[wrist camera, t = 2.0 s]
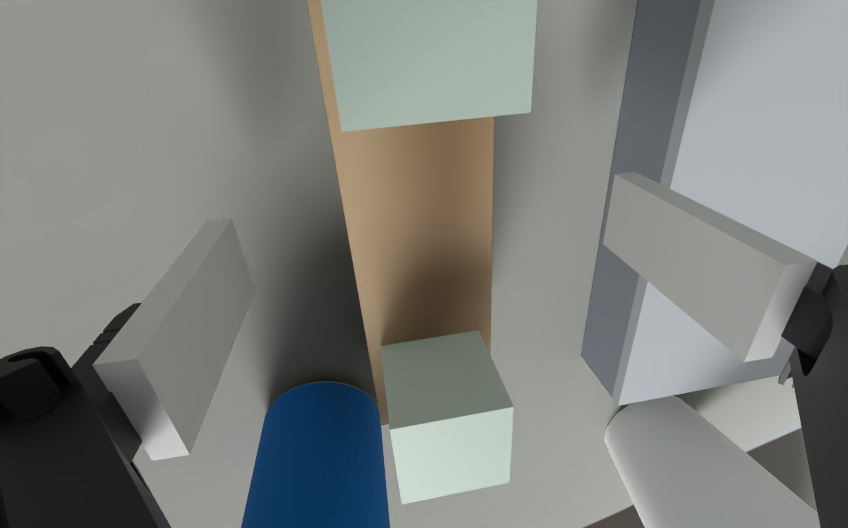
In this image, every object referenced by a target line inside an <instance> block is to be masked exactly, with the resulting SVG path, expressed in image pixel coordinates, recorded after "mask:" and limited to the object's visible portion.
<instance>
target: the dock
mask: <svg viewBox="0 0 848 528" xmlns="http://www.w3.org/2000/svg"><path fill="white" fill-rule="evenodd" d="M630 172H636V173H638V174H640V175H642V176H644V177H647V178H649V179H651V180H653V181H655V182H657V183H659V184H661V185H663V186H665V187H667V188H669V189H671V190H673V191H675V192H677V193H679V194H681V195H684V196H686V197H688V198H690V199H692V200H694V201H696V202H698V203H700V204H702V205H704V206H706V207H708V208H710V209H712V210H714V211H716V212H719V213H721V214H723V215H725V216H727V217H729V218H731V219H733V220H735V221H737V222H739V223H741V224H743V225H745V226H747V227H749V228H751V229H753V230H756V231H758V232H760V233H762V234H764V235H766V236H768V237H770V238H772V239H774V240H776V241H778V242H780V243H782V244H784V245H786V246H788V247H791V248H793V249H795V250H797V251H799V252H801V253H803V254H805V255H807V256H809V257H811V258H813V259H815V260H817V261H818V262H820V263H822V264H824V265H826V266H828V267H830V268H832V269H834V268H835V267H837V265H838V263H839V261H840V259H841V257H842V255H843V253H844V251H845V249H846V247H847V245H848V0H639V1H638V7H637V13H636V19H635V25H634V32H633V38H632V44H631V50H630V56H629V63H628V69H627V75H626V81H625V87H624V94H623V100H622V106H621V112H620V119H619V125H618V131H617V137H616V143H615V150H614V156H613V162H612V168H611V174H610V181H609V187H608V193H607V199H606V205H605V212H604V218H603V224H602V230H601V237H600V243H599V249H598V255H597V261H596V268H595V274H594V280H593V286H592V292H591V299H590V305H589V311H588V317H587V323H586V330H585V336H584V342H583V348H582V354H581V356H582V358H583V359H584V360H585V362H586V363H587V364H588V366H589V367H590V368H591V370H592V371H593V372H594V374H595V375H596V377H597V378H598V379H599V381H600V382H601V383H602V385H603V386H604V387H605V389H606V390H607V391H608V393H609V394H610V395H611V397H612V398H613V400H614V401H615V402H616V404H617V405H618V406H620V405H625V404H630V403H636V402H641V401H646V400H651V399H657V398H662V397H667V396H673V395H678V394H683V393H688V392H694V391H699V390H704V389H709V388H715V387H720V386H725V385H731V384H736V383H741V382H746V381H752V380H757V379H762V378H768V377H773V376H778V375H781V373H782V371H783V369H784V367H785V365H786V363H787V361H788V359H789V357H790V355H791V353H792V351H793V349H794V347H795V346H794V345H792V344H791V343H790V342H788V341H787V340H785V339H784V338H783V337H782V338H781V340H780V342H779V344H778V346H777V349H776V351H775V353H774V355H773V357H772V358H766V359H760V360H754V361H748V362H743V361H742V360H741V359H740V358H739V357H737V356H736V355H735V354H734V353H733V352H731V351H730V350H729V349H728V348H727V347H725V346H724V345H723V344H722V343H721V342H719V341H718V340H717V339H716V338H715V337H714V336H712V335H711V334H710V333H709V332H708V331H706V330H705V329H704V328H703V327H702V326H700V325H699V324H698V323H697V322H696V321H694V320H693V319H692V318H691V317H690V316H688V315H687V314H686V313H685V312H684V311H683V310H681V309H680V308H679V307H678V306H677V305H675V304H674V303H673V302H672V301H671V300H669V299H668V298H667V297H666V296H665V295H663V294H662V293H661V292H660V291H659V290H657V289H656V288H655V287H654V286H653V285H652V284H650V283H649V282H648V281H647V280H646V279H644V278H643V277H642V276H641V275H640V274H638V273H637V272H636V271H635V270H634V269H632V268H631V267H630V266H629V265H628V264H626V263H625V262H624V261H623V260H622V259H621V258H619V257H618V256H617V255H616V254H615V253H613V252H612V251H611V250H610V249H609V248H607V247H606V246H605V245H604V244H603V241H604V235H605V229H606V223H607V217H608V211H609V205H610V199H611V193H612V187H613V181H614V176H615V174H621V173H630Z"/></svg>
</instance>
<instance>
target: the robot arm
mask: <svg viewBox="0 0 848 528" xmlns="http://www.w3.org/2000/svg"><path fill="white" fill-rule="evenodd" d="M603 244H604V245H605V246H606V247H607V248H609V249H610V250H611V251H612V252H613V253H615V254H616V255H617V256H618V257H619V258H621V259H622V260H623V261H624V262H625V263H626V264H628V265H629V266H630V267H631V268H632V269H634V270H635V271H636V272H637V273H638V274H640V275H641V276H642V277H643V278H644V279H646V280H647V281H648V282H649V283H650V284H652V285H653V286H654V287H655V288H656V289H657V290H659V291H660V292H661V293H662V294H663V295H665V296H666V297H667V298H668V299H669V300H671V301H672V302H673V303H674V304H675V305H677V306H678V307H679V308H680V309H681V310H683V311H684V312H685V313H686V314H687V315H688V316H690V317H691V318H692V319H693V320H694V321H696V322H697V323H698V324H699V325H700V326H702V327H703V328H704V329H705V330H706V331H708V332H709V333H710V334H711V335H712V336H714V337H715V338H716V339H717V340H718V341H719V342H721V343H722V344H723V345H724V346H725V347H727V348H728V349H729V350H730V351H731V352H733V353H734V354H735V355H736V356H737V357H739V358H740V359H741V360H742V361H743V362H748V361H754V360H760V359H766V358H772V357H773V355H774V353H775V351H776V349H777V346H778V344H779V342H780V340H781V338H782V337H783V338H784V339H785V340H787V341H788V342H790V343H791V344H792V345H794V346H795V347H794V349H793V351H792V353H791V355H790V357H789V359H788V361H787V363H786V365H785V367H784V369H783V371H782V373H781V375H780V377H779V380H778V383H779V384H782V385H784V383H785V381H786V379H788V378H791V377H792V378H793V385H792V387H793V388H794V389H795V394H796V399H797V405H798V410H799V415H800V421H801V426H802V431H803V437H804V442H805V447H806V453H807V458H808V463H809V468H810V474H811V479H812V485H813V490H814V495H815V501H816V506H817V511H818V517H819V522H820V527H821V528H848V265H840V266H838V267H835V268H834V269H832V268H830V267H828V266H826V265H824V264H822V263H820V262H818V261H817V260H815V259H813V258H811V257H809V256H807V255H805V254H803V253H801V252H799V251H797V250H795V249H793V248H791V247H788V246H786V245H784V244H782V243H780V242H778V241H776V240H774V239H772V238H770V237H768V236H766V235H764V234H762V233H760V232H758V231H756V230H753V229H751V228H749V227H747V226H745V225H743V224H741V223H739V222H737V221H735V220H733V219H731V218H729V217H727V216H725V215H723V214H721V213H719V212H716V211H714V210H712V209H710V208H708V207H706V206H704V205H702V204H700V203H698V202H696V201H694V200H692V199H690V198H688V197H686V196H684V195H681V194H679V193H677V192H675V191H673V190H671V189H669V188H667V187H665V186H663V185H661V184H659V183H657V182H655V181H653V180H651V179H649V178H647V177H644V176H642V175H640V174H638V173H636V172H630V173H621V174H615V176H614V181H613V187H612V193H611V199H610V205H609V211H608V217H607V223H606V229H605V235H604V241H603ZM254 290H255V289H254V286H253V283H252V280H251V277H250V274H249V271H248V268H247V265H246V261H245V258H244V255H243V252H242V249H241V246H240V243H239V240H238V237H237V234H236V231H235V228H234V225H233V221H232V219H224V220H215V221H207V222H206V223H205V225H204V226H203V227H202V228H201V230H200V231H199V232H198V233H197V235H196V236H195V237H194V238H193V240H192V241H191V242H190V243H189V245H188V246H187V247H186V248H185V250H184V251H183V252H182V253H181V255H180V256H179V257H178V258H177V260H176V261H175V262H174V263H173V265H172V266H171V267H170V268H169V270H168V271H167V272H166V273H165V275H164V276H163V277H162V278H161V280H160V281H159V282H158V283H157V285H156V286H155V287H154V288H153V290H152V291H151V292H150V293H149V295H148V296H147V297H146V298H145V300H144V301H143V302H142V303H136V304H133V305H131V306H130V307H128V308H127V309H125V310H124V311H123V312H121V313H120V314H118V315H117V316H115V317H114V319H113V320H112V321H111V322H110V323H109V324H108V326H107V327H106V328H105V329H104V330H103V333H101V334H100V335H99V336H98V337H97V338H96V340H95V341H94V342H93V343H94V345H91V346H90V347H89V348H88V349H87V350H86V351H85V353H84V354H83V355H82V356H81V357H80V358H79V360H78V361H77V362H76V363H75V364H74V365H73V367H72V368H70V367H69V365H68V364H67V362H66V361H65V359H64V358H63V356H62V355H61V353H60V352H59V351H58V350H57V349H55V348H54V347H36V348H31V349H25V350H22V351H19V352H17V353H14V354H11V355H8V356H6V357H4V358H2V359H0V528H171V527H170V525H169V523H168V521H167V519H166V518H165V516H164V514H163V512H162V511H161V509H160V507H159V505H158V504H157V502H156V500H155V498H154V497H153V495H152V493H151V491H150V489H149V488H148V486H147V484H146V482H145V481H144V479H143V477H142V475H141V474H140V472H139V470H138V468H137V467H136V465H135V464H134V462H133V461H132V460H133V458H134V456H135V454H136V452H137V450H138V448H139V446H140V445H141V443H142V445H143V447H144V448H145V450H146V451H147V453H148V454H149V456H150V458H151V459H152V461H154V460H160V459H166V458H172V457H178V456H184V455H190V452H191V450H192V447H193V445H194V442H195V440H196V437H197V435H198V432H199V430H200V427H201V425H202V422H203V420H204V417H205V414H206V412H207V409H208V407H209V404H210V402H211V399H212V397H213V394H214V392H215V389H216V387H217V384H218V382H219V379H220V377H221V374H222V371H223V369H224V366H225V364H226V361H227V359H228V356H229V354H230V351H231V349H232V346H233V344H234V341H235V339H236V336H237V333H238V331H239V328H240V326H241V323H242V321H243V318H244V316H245V313H246V311H247V308H248V306H249V303H250V301H251V298H252V295H253V293H254Z"/></svg>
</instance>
